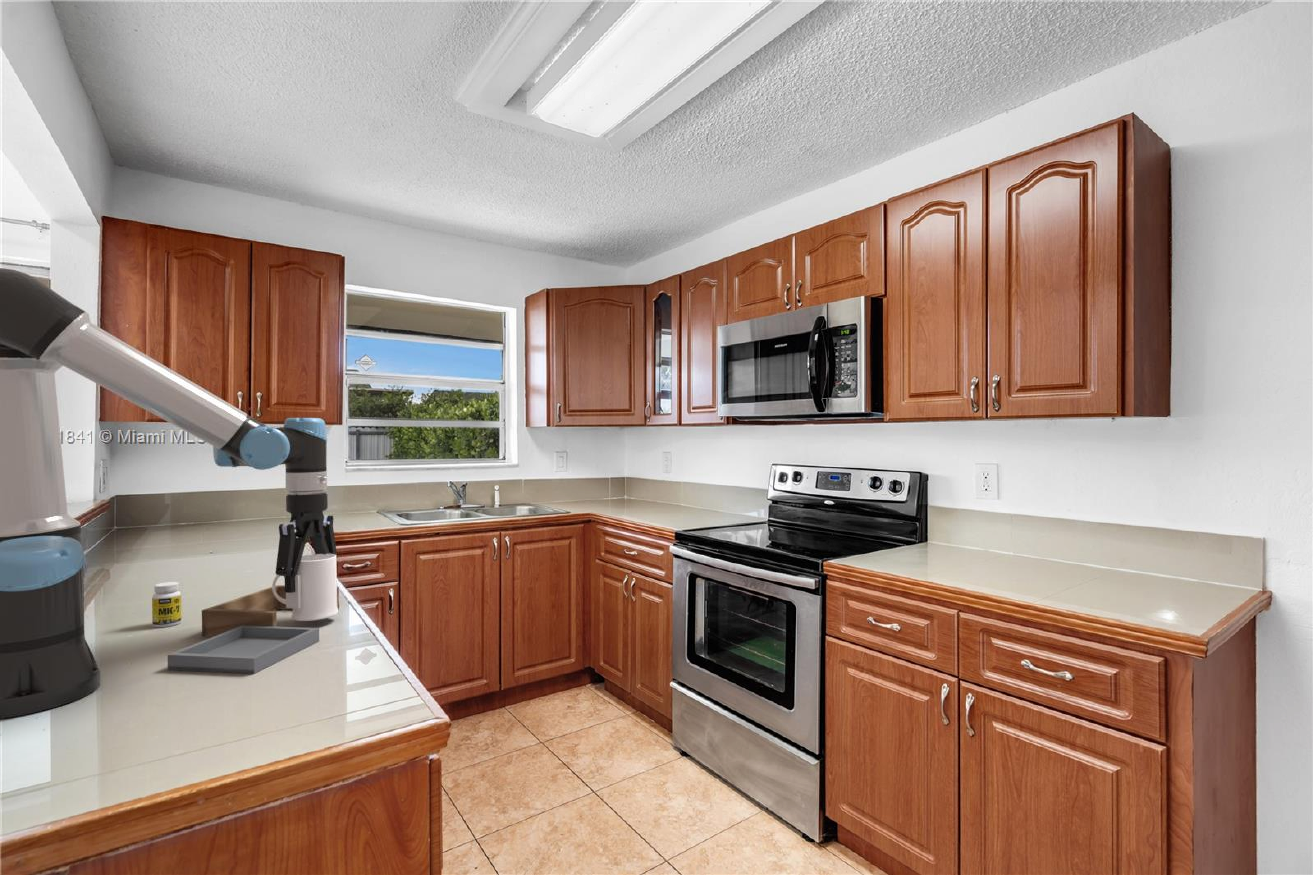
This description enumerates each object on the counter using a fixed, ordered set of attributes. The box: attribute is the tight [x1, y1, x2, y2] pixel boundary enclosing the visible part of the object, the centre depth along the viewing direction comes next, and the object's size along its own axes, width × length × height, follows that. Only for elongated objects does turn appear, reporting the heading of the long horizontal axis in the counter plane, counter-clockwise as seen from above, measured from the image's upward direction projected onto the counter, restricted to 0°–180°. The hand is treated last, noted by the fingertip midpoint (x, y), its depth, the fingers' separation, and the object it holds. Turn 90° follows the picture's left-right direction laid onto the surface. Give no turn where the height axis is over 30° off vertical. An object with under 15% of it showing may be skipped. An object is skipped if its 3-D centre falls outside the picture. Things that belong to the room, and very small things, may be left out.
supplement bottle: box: [151, 581, 182, 628], centre depth 131 cm, size 5×5×8 cm
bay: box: [201, 584, 340, 637], centre depth 132 cm, size 20×15×5 cm
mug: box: [271, 553, 339, 622], centre depth 131 cm, size 12×8×12 cm
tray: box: [167, 625, 320, 675], centre depth 113 cm, size 16×16×2 cm
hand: (308, 601), depth 131 cm, fingers closed on mug, 8 cm apart
